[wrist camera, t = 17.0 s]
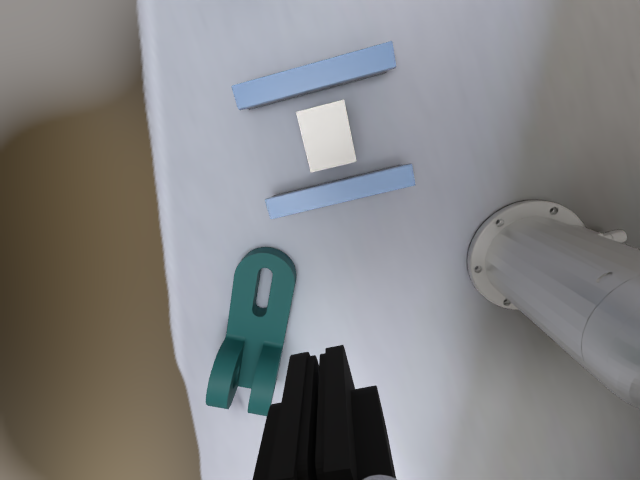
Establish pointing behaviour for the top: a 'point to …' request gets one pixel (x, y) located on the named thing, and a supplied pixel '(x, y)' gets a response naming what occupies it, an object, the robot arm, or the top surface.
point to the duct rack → (315, 80)
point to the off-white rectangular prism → (326, 136)
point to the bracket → (253, 333)
